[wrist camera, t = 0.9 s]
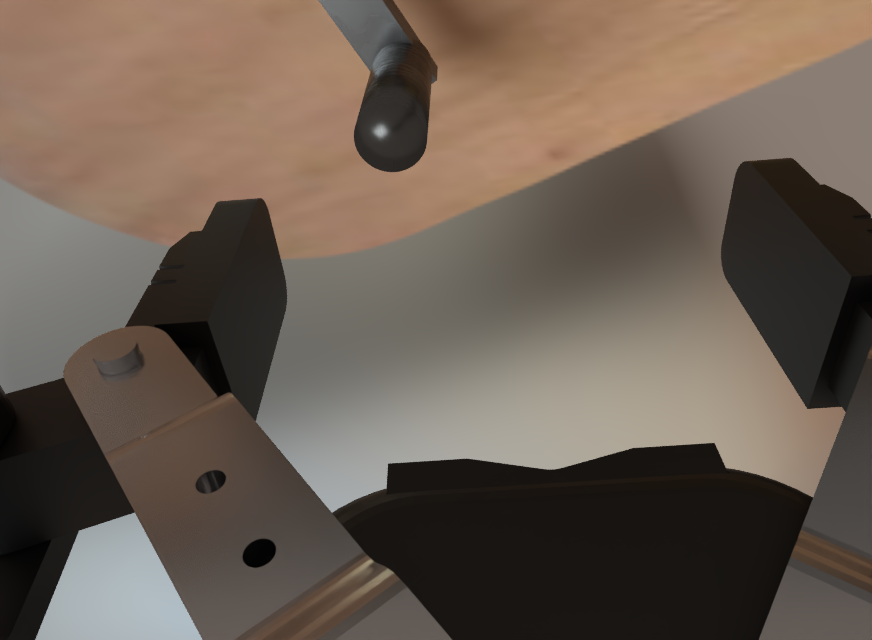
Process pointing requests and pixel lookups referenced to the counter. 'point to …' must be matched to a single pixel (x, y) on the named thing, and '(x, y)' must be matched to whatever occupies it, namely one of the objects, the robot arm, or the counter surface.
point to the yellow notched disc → (388, 82)
